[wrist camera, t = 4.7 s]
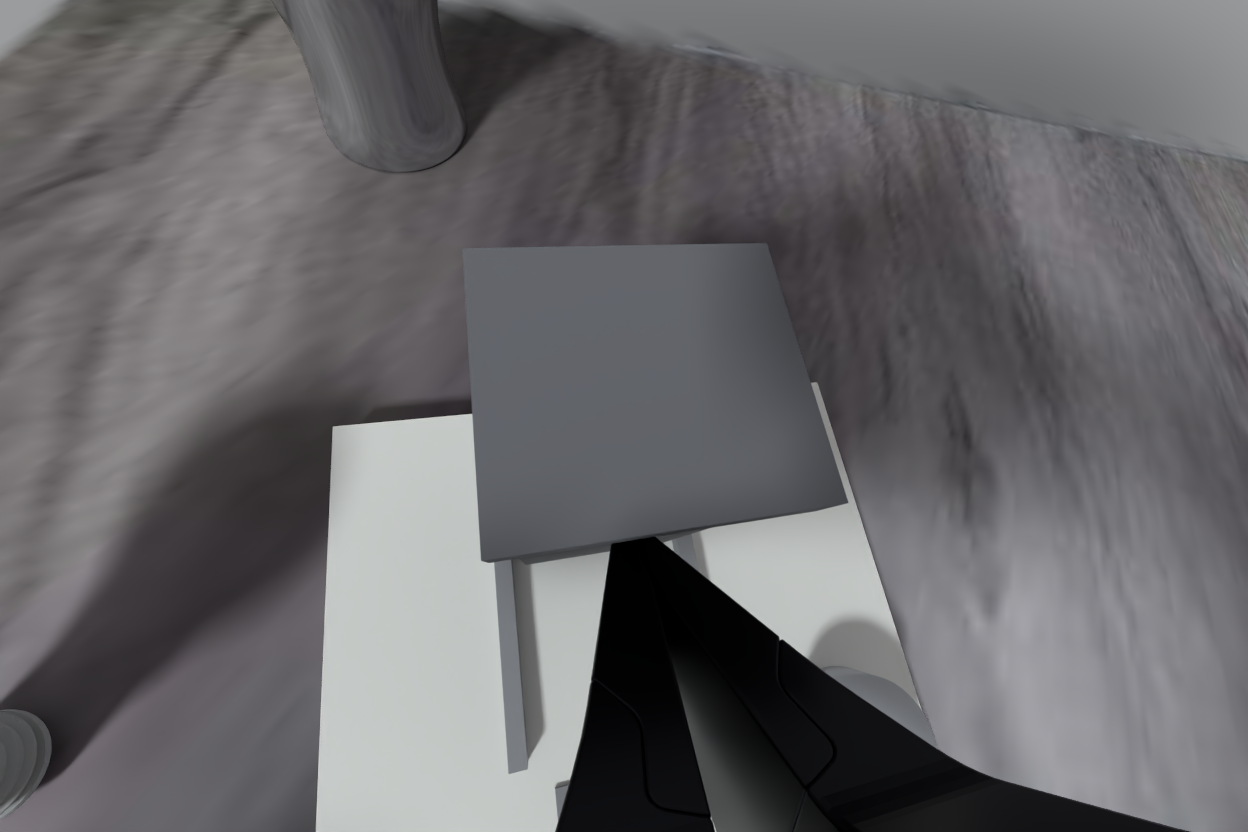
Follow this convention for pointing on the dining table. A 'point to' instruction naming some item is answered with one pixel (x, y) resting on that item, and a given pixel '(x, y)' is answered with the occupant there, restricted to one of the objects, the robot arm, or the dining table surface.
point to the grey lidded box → (635, 397)
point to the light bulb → (21, 757)
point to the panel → (528, 635)
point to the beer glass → (379, 79)
